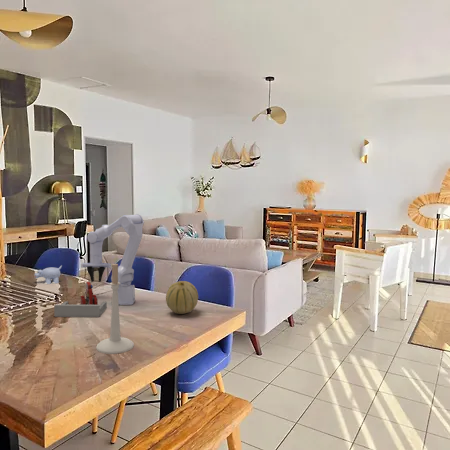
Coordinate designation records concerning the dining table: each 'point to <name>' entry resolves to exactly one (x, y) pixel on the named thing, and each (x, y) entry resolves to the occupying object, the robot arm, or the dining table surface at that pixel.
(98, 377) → the dining table surface
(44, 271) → the hippopotamus toy
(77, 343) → the dining table surface
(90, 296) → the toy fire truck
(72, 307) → the tray
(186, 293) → the cantaloupe
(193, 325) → the dining table surface
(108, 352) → the candlestick
